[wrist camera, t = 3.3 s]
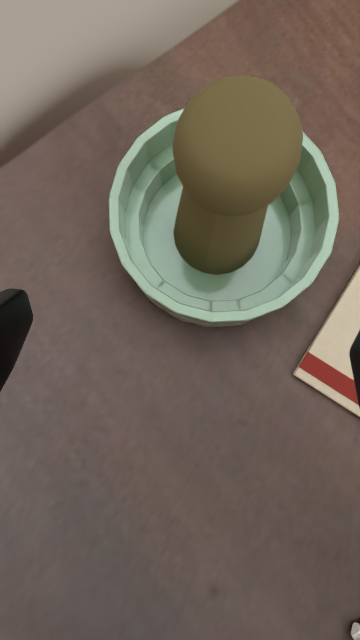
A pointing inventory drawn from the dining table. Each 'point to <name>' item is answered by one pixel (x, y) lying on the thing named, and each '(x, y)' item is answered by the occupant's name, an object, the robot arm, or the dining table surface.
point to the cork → (232, 168)
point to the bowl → (231, 288)
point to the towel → (335, 350)
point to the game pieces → (355, 631)
